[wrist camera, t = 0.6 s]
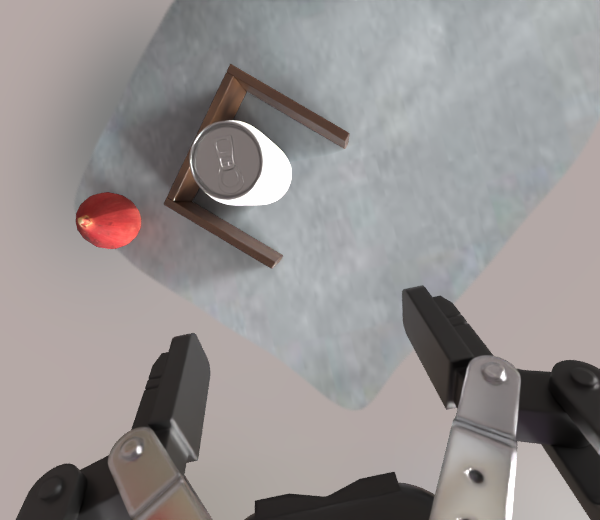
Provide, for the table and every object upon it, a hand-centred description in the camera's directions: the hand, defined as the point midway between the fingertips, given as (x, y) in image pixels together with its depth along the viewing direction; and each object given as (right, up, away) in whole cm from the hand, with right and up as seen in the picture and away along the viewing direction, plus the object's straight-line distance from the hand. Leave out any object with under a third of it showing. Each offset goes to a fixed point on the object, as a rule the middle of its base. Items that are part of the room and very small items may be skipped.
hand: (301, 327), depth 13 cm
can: (-4, +12, +24) cm, 27 cm away
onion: (-19, +7, +26) cm, 34 cm away
